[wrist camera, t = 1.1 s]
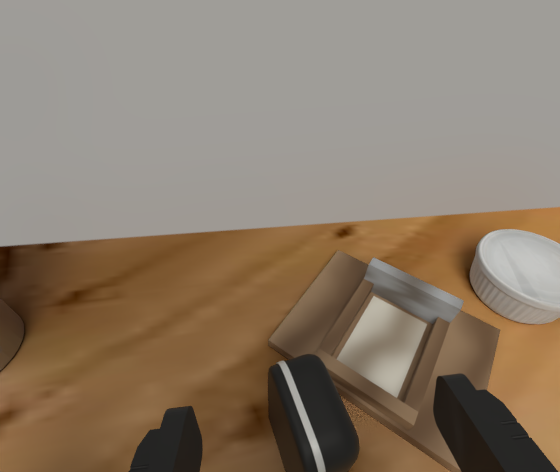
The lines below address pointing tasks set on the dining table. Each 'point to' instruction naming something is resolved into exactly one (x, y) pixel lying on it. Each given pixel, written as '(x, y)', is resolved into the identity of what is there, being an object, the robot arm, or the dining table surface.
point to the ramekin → (518, 275)
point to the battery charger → (310, 417)
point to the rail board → (388, 344)
